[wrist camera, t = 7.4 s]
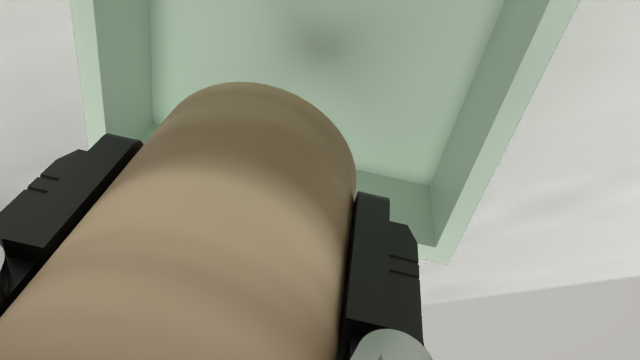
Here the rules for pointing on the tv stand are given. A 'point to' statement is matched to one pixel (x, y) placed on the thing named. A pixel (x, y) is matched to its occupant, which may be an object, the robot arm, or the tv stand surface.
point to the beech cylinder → (204, 243)
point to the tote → (340, 82)
